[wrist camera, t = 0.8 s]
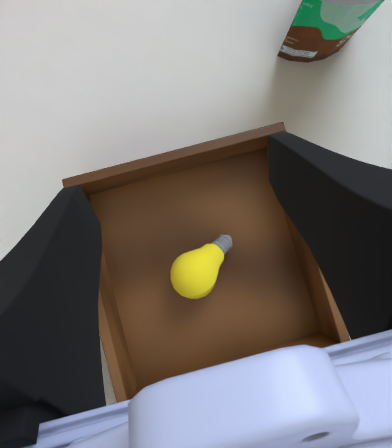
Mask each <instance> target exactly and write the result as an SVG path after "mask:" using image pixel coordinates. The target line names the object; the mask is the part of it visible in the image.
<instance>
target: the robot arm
mask: <svg viewBox="0 0 392 448" xmlns="http://www.w3.org/2000/svg"><path fill="white" fill-rule="evenodd" d="M268 170H269V182H270V184H271V186H272V189H273V191H274V193H275V195H276V197H277V199H278V201H279V203H280V204H281V206H282V207H283V209H284V210H285V212H286V213H287V215H288V216H289V218H290V219H291V221H292V222H293V224H294V225H295V227H296V229H297V230H298V232H299V233H300V235H301V236H302V238H303V239H304V241H305V242H306V244H307V246H308V247H309V249H310V251H311V253H312V255H313V257H314V259H315V261H316V263H317V265H318V267H319V269H320V270H321V273H322V275H323V277H324V279H325V281H326V283H327V285H328V287H329V289H330V292H331V294H332V296H333V298H334V301H335V303H336V305H337V307H338V310H339V312H340V314H341V316H342V319H343V321H344V324H345V326H346V329H347V331H348V333H349V336H350V338H351V340H350V341H347V342H343V343H339V344H335V345H332V346H328V347H324V348H319V347H314V346H309V345H298V346H291V347H284V348H279V349H275V350H272V351H268V352H264V353H260V354H257V355H253V356H249V357H245V358H242V359H238V360H234V361H230V362H227V363H223V364H219V365H216V366H212V367H208V368H204V369H201V370H197V371H193V372H189V373H186V374H182V375H178V376H174V377H171V378H167V379H164V380H162V381H159V382H157V383H154V384H151V385H149V386H146V387H144V388H143V389H142V390H141V391H140V392H139V393H137V394H136V395H135V396H134V397H133V398H132V399H130V400H127V401H123V402H119V403H115V404H112V405H108V406H106V401H105V393H104V385H103V374H102V363H101V352H100V336H99V314H98V298H99V284H100V272H101V259H102V233H101V223H100V221H99V220H98V218H97V216H96V214H95V212H94V211H93V209H92V207H91V205H90V203H89V201H88V200H87V198H86V196H85V194H84V192H83V191H82V189H81V187H80V185H79V184H78V185H74V186H70V187H66V188H63V189H62V190H61V191H60V192H59V193H58V194H57V196H56V197H55V198H54V199H53V201H52V202H51V203H50V204H49V206H48V207H47V208H46V210H45V211H44V212H43V213H42V215H41V216H40V217H39V218H38V220H37V221H36V222H35V224H34V225H33V226H32V227H31V228H30V229H29V231H28V232H27V233H26V234H25V235H24V236H23V238H22V239H21V240H20V241H19V242H18V243H17V245H16V246H15V247H14V248H13V249H12V250H11V251H10V252H9V253H8V254H7V255H6V256H5V257H4V258H3V259H2V260H1V261H0V448H392V169H387V168H383V167H379V166H375V165H372V164H368V163H364V162H361V161H358V160H355V159H352V158H349V157H346V156H343V155H341V154H338V153H335V152H333V151H330V150H328V149H325V148H323V147H320V146H318V145H316V144H313V143H311V142H309V141H307V140H304V139H302V138H300V137H298V136H295V135H293V134H290V133H288V132H285V131H283V132H279V133H275V134H271V135H268Z"/></svg>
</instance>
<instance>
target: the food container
mask: <svg viewBox="0 0 392 448" xmlns="http://www.w3.org/2000/svg"><path fill="white" fill-rule="evenodd" d="M383 1H384V0H302V2H301V5H300V7H299V9H298V11H297V13H296V16H295V18H294V20H293V22H292V25H291V27H290V29H289V31H288V33H287V36H286V38H285V40H284V42H283V44H282V47H281V49H280V51H279V53H278V55H277V56H280V57H282V58H285V59H288V60H291V61H300V62H311V61H317V60H322V59H325V58H327V57H328V56H330V55H332V54H334V53H336V52H338V51H339V49H340V48H341V47H342V46H343V45H344V44H345V43H346V42H347V41H348V40H349V39H350V38H351V36H352V35H353V34H354V33H355V32H356V31H357V30H358V29H359V28H360V27H361V25H362V24H363V23H364V22H365V21H366V20H367V19H368V18H369V17H370V16H371V14H372V13H373V12H374V11H375V10H376V9H377V8H378V7H379V6H380V5H381V3H382V2H383Z"/></svg>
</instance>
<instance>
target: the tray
mask: <svg viewBox="0 0 392 448" xmlns="http://www.w3.org/2000/svg"><path fill="white" fill-rule="evenodd" d="M283 131H285V127H284V123H283V122H281V123H277V124H273V125H269V126H265V127H262V128H258V129H254V130H250V131H246V132H242V133H238V134H235V135H231V136H227V137H223V138H219V139H215V140H212V141H208V142H204V143H200V144H196V145H192V146H189V147H185V148H181V149H177V150H173V151H169V152H166V153H162V154H158V155H154V156H150V157H146V158H143V159H139V160H135V161H131V162H127V163H123V164H120V165H116V166H112V167H108V168H104V169H100V170H97V171H93V172H89V173H85V174H81V175H77V176H74V177H70V178H66V179H63V180H62V182H63V186H64V188H66V187H70V186H74V185H78V184H79V185H80V187H81V189H82V191H83V192H84V194H85V196H86V198H87V200H88V201H89V203H90V205H91V207H92V209H93V211H94V212H95V214H96V216H97V218H98V220H99V221H100V223H101V233H102V259H101V272H100V284H99V298H98V314H99V332H100V336H101V340H102V344H103V348H104V352H105V356H106V360H107V365H108V369H109V373H110V377H111V381H112V385H113V389H114V393H115V397H116V401H117V403H119V402H123V401H127V400H130V399H132V398H133V397H134V396H135V395H136V394H137V393H139V392H140V391H141V390H142V389H143V388H144V387H146V386H149V385H151V384H154V383H157V382H159V381H162V380H164V379H167V378H171V377H174V376H178V375H182V374H186V373H189V372H193V371H197V370H201V369H204V368H208V367H212V366H216V365H219V364H223V363H227V362H230V361H234V360H238V359H242V358H245V357H249V356H253V355H257V354H260V353H264V352H268V351H272V350H275V349H279V348H284V347H291V346H298V345H309V346H314V347H319V348H324V347H328V346H332V345H335V344H339V343H343V342H347V341H350V338H349V334H348V331H347V329H346V326H345V324H344V321H343V319H342V316H341V314H340V312H339V310H338V307H337V305H336V303H335V301H334V298H333V296H332V294H331V292H330V289H329V287H328V285H327V283H326V281H325V279H324V277H323V275H322V273H321V270H320V269H319V267H318V265H317V263H316V261H315V259H314V257H313V255H312V253H311V251H310V249H309V247H308V246H307V244H306V242H305V241H304V239H303V238H302V236H301V235H300V233H299V232H298V230H297V229H296V227H295V225H294V224H293V222H292V221H291V219H290V218H289V216H288V215H287V213H286V212H285V210H284V209H283V207H282V206H281V204H280V203H279V201H278V199H277V197H276V195H275V193H274V191H273V189H272V186H271V184H270V182H269V170H268V135H271V134H275V133H279V132H283ZM285 132H286V131H285ZM219 235H229V236H231V238H232V248H230V250H229V251H228V252H226V254H225V255H224V261H223V263H222V264H221V266H220V268H219V272H218V276H217V279H216V283H215V286H214V287H213V289H212V290H211V292H210V293H208V294H207V295H206V296H204V297H201V298H199V299H190V298H187V297H183V296H181V295H180V294H179V293H178V292H177V291H176V290H175V289H174V288H173V285H172V282H171V274H170V271H171V268H172V265H173V263H174V261H175V260H176V259H177V257H179V256H180V255H182V254H183V253H186V252H189V251H192V250H195V249H199V248H201V247H202V246H204V245H205V244H212V242H213V241H214V240H216V238H217V237H219Z"/></svg>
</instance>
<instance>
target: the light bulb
mask: <svg viewBox="0 0 392 448" xmlns="http://www.w3.org/2000/svg"><path fill="white" fill-rule="evenodd" d="M230 248H232V238H231V236H229V235H219V237H217V238H216V240H214V241H213V242H212V244H205V245H204V246H202V247H201V248H199V249H195V250H192V251H189V252H186V253H183V254H182V255H180V256H179V257H177V259H176V260H175V261H174V263H173V265H172V268H171V271H170V274H171V282H172V285H173V288H174V289H175V290H176V291H177V292H178V293H179V294H180V295H181V296H183V297H187V298H190V299H199V298H201V297H204V296H206V295H207V294H208V293H210V292H211V290H212V289H213V287H214V286H215V283H216V279H217V276H218V272H219V268H220V266H221V264H222V263H223V261H224V255H225V254H226V252H228V251H229V250H230Z"/></svg>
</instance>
